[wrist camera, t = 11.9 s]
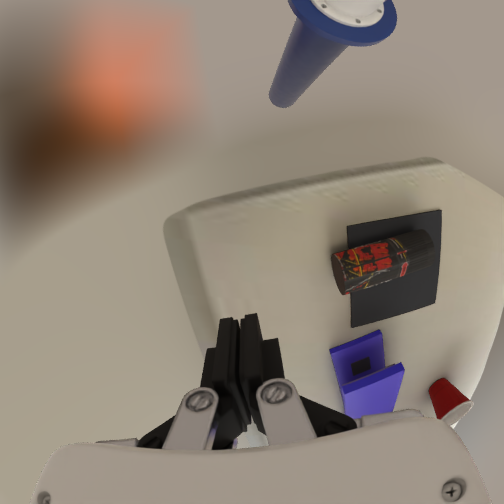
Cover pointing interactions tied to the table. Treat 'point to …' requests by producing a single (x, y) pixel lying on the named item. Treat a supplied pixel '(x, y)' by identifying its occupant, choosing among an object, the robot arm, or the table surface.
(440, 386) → the plastic cup
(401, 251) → the deodorant
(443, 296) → the table surface
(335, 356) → the stapler
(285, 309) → the table surface
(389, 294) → the mat
